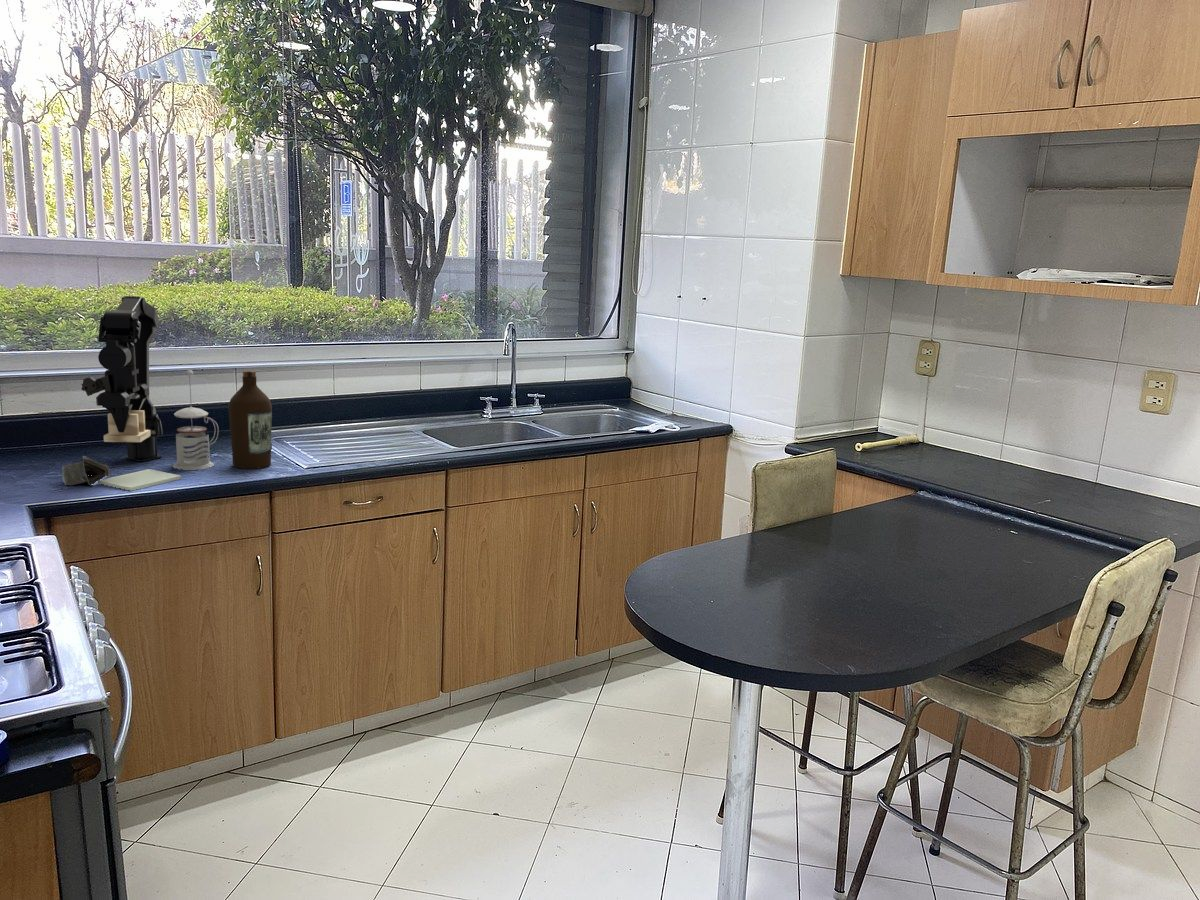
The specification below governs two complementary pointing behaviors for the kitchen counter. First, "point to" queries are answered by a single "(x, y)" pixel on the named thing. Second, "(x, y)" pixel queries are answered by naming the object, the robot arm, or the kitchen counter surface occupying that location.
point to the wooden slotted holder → (128, 428)
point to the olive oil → (250, 425)
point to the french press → (193, 439)
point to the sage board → (139, 479)
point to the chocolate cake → (84, 472)
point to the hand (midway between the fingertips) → (125, 429)
